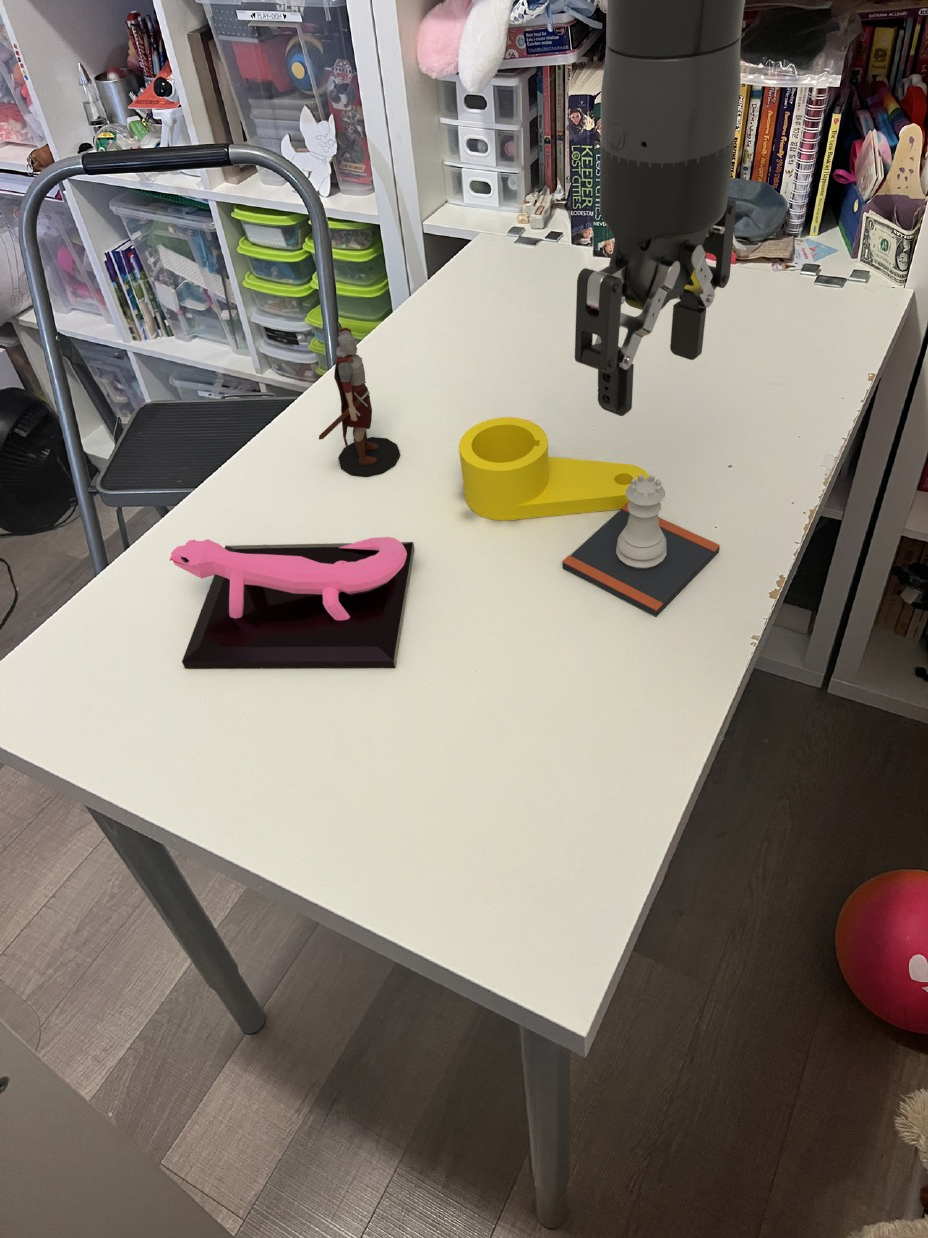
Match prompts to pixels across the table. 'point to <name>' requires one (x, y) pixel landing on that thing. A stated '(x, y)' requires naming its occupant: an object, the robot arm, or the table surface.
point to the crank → (534, 474)
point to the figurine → (358, 416)
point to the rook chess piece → (643, 525)
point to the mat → (641, 585)
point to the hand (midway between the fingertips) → (651, 381)
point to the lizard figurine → (298, 604)
